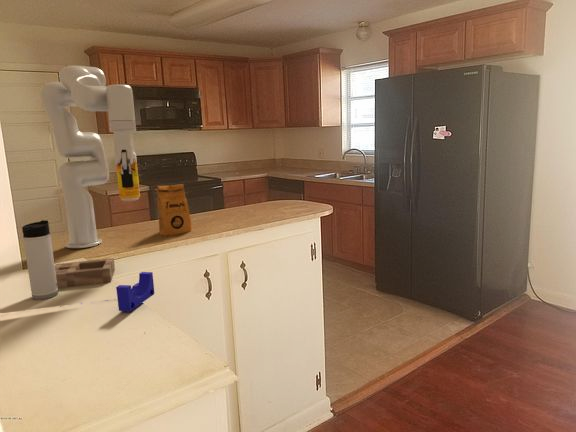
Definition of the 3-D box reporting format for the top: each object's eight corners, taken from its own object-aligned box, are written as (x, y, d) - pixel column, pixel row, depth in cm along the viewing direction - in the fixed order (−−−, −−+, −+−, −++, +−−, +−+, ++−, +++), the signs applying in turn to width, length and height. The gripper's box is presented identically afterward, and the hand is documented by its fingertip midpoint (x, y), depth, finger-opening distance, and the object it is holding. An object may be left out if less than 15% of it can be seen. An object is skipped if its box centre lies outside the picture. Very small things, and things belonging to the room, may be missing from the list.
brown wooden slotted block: (57, 276, 138) (55, 264, 137) (115, 270, 142) (113, 258, 142) (47, 289, 127) (46, 275, 126) (110, 282, 131) (109, 268, 130)
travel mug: (64, 292, 124) (55, 220, 120) (44, 300, 118) (33, 225, 114) (47, 290, 126) (37, 219, 122) (26, 298, 120) (15, 224, 116)
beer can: (128, 201, 137) (123, 151, 134) (115, 200, 140) (110, 151, 138) (144, 198, 142) (140, 150, 139) (131, 197, 145) (126, 150, 143)
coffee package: (193, 239, 182) (189, 184, 178) (162, 242, 177) (157, 187, 173) (189, 234, 191) (185, 182, 187) (159, 238, 186) (154, 184, 182)
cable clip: (139, 293, 121) (136, 271, 120) (154, 293, 120) (152, 272, 119) (113, 310, 110) (110, 286, 108) (130, 311, 109) (127, 287, 108)
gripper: (112, 127, 144) (118, 184, 148) (106, 127, 128) (113, 190, 131) (137, 127, 146) (142, 182, 150) (134, 126, 130) (140, 188, 133)
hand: (128, 185), depth 140 cm, fingers closed on beer can, 6 cm apart
